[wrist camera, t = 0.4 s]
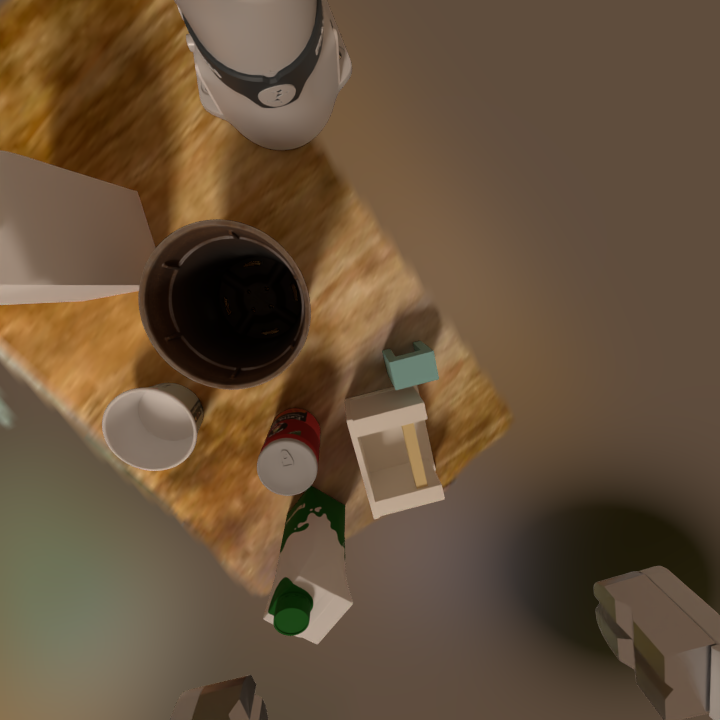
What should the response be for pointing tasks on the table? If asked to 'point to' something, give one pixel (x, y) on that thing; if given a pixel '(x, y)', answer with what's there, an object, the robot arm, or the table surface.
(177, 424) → the food container
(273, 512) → the table surface
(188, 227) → the plant pot
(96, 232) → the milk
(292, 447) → the canned food
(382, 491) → the shelf
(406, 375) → the green slotted block
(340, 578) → the milk carton
